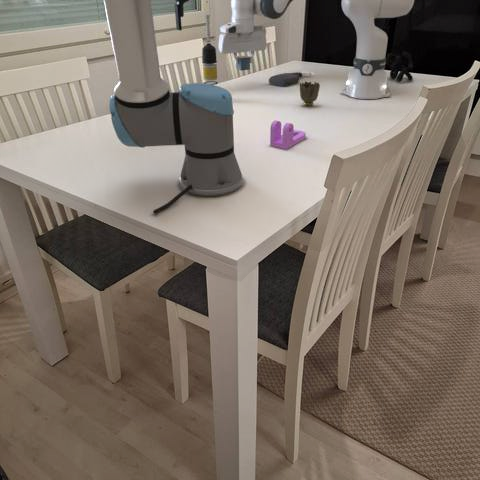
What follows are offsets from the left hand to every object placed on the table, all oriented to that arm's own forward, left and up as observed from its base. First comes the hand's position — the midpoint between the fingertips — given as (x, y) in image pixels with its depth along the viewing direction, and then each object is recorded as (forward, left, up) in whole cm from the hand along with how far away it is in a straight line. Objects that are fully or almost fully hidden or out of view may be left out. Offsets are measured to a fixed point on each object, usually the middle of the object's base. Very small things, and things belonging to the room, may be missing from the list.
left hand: (156, 31), depth 127 cm
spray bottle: (+83, -20, -30) cm, 91 cm away
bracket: (+4, -39, -30) cm, 50 cm away
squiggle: (+97, -67, -30) cm, 121 cm away
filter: (+44, +3, -30) cm, 53 cm away
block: (+61, -5, -22) cm, 65 cm away
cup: (+44, -36, -30) cm, 65 cm away
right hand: (+61, -5, -19) cm, 64 cm away
